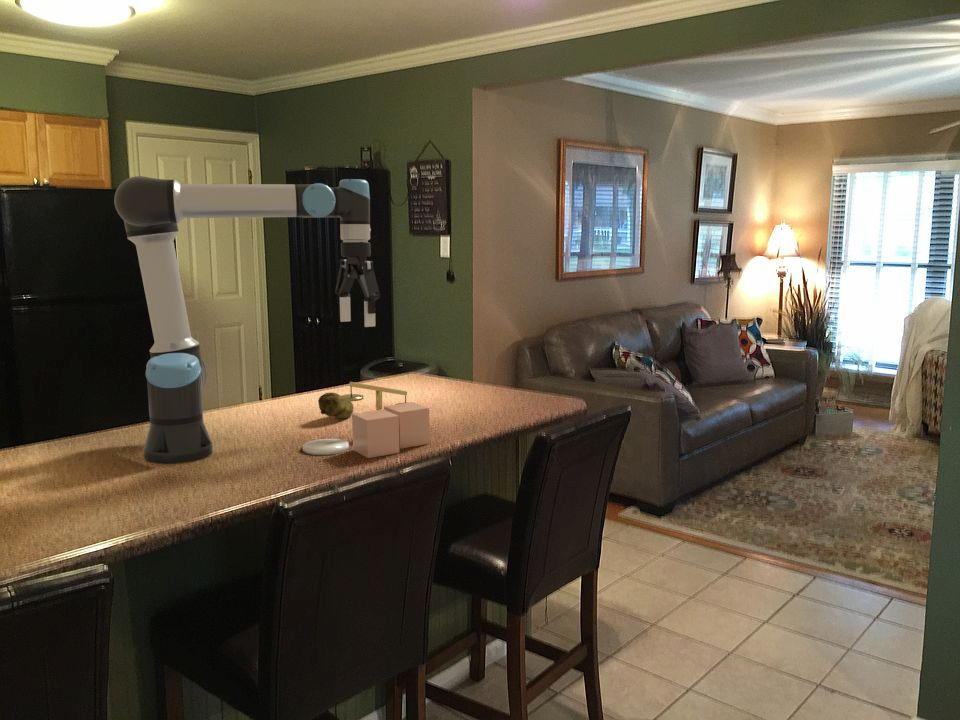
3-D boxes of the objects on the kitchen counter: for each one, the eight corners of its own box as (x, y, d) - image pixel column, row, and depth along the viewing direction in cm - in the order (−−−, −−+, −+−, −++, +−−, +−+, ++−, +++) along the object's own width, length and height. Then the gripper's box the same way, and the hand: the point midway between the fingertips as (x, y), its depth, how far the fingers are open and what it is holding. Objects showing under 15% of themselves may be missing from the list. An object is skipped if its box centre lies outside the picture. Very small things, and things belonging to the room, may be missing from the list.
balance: (346, 442, 200) (344, 385, 198) (336, 437, 205) (334, 381, 202) (421, 430, 212) (420, 376, 209) (410, 426, 217) (409, 373, 214)
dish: (313, 457, 187) (313, 453, 187) (295, 447, 196) (295, 443, 196) (356, 450, 193) (356, 446, 193) (337, 440, 202) (337, 436, 202)
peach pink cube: (400, 448, 195) (399, 412, 193) (384, 441, 201) (384, 406, 200) (429, 443, 199) (429, 408, 198) (413, 436, 206) (412, 402, 204)
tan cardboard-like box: (368, 458, 187) (367, 420, 185) (353, 450, 194) (352, 413, 192) (399, 452, 191) (398, 415, 190) (383, 445, 198) (382, 409, 196)
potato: (365, 416, 227) (364, 389, 226) (329, 425, 218) (328, 396, 216) (345, 412, 233) (345, 385, 231) (310, 420, 223) (309, 392, 222)
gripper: (393, 242, 198) (394, 327, 201) (346, 240, 218) (348, 318, 221) (365, 242, 193) (367, 329, 197) (321, 240, 213) (323, 320, 217)
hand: (357, 324), depth 209 cm, fingers open, 13 cm apart
